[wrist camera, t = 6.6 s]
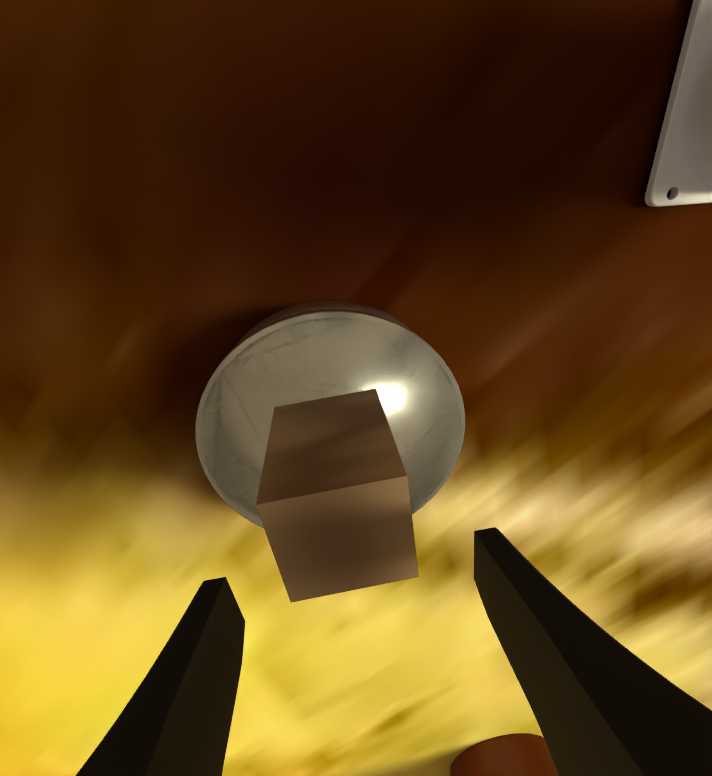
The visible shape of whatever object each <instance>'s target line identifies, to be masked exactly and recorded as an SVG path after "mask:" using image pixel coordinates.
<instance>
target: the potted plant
mask: <svg viewBox="0 0 712 776" xmlns="http://www.w3.org/2000/svg"><path fill="white" fill-rule="evenodd" d="M450 775H451V776H559V775H558V772H557V770H556V767H555V765H554V762H553V760H552V757H551V754H550V752H549V749H548V747H547V744H546V742H545V739H544V738H543V737H541V736H537V735H533V734H511V735H505V736H500V737H496V738H493V739H489V740H486V741H483V742H481V743H479V744H477V745H475V746H473V747H471V748H469V749H467V750H466V751H464V752H463V753H462V754H460V755H459V756H458V757H457V758H456V759H455V760H454V762H453V763H452V765H451V768H450Z"/></svg>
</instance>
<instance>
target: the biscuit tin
mask: <svg viewBox="0 0 712 776" xmlns="http://www.w3.org/2000/svg"><path fill="white" fill-rule="evenodd" d="M370 389H376V390H377V393H378V396H379V398H380V401H381V404H382V407H383V410H384V412H385V415H386V418H387V421H388V423H389V426H390V429H391V432H392V435H393V437H394V440H395V443H396V446H397V449H398V451H399V454H400V457H401V460H402V463H403V465H404V468H405V471H406V474H407V478H408V487H409V496H410V505H411V513H412V514H414V513H415V512H416V511H417V510H419V509H420V508H421V507H423V506H424V505H425V504H426V503H427V502H428V501H429V500H430V499H431V498H432V497H433V496H434V495H435V494H436V493H437V492H438V491H439V489H440V488H441V487H442V486H443V485H444V483H445V482H446V480H447V479H448V477H449V475H450V474H451V472H452V471H453V469H454V466H455V464H456V462H457V460H458V458H459V454H460V451H461V448H462V445H463V439H464V432H465V412H464V405H463V399H462V396H461V393H460V390H459V387H458V384H457V382H456V380H455V378H454V376H453V374H452V372H451V371H450V369H449V368H448V366H447V365H446V364H445V362H444V361H443V359H442V358H441V357H440V356H439V354H438V353H437V352H436V351H435V350H434V349H433V348H432V347H431V346H430V345H429V344H428V343H427V342H426V341H424V340H423V339H422V338H421V337H419V336H418V335H417V334H415V333H414V332H413V331H412V330H411V329H410V328H409V327H407V326H406V325H405V324H403V323H402V322H401V321H400V320H398V319H397V318H395V317H393V316H392V315H390V314H388V313H386V312H385V311H382V310H380V309H377V308H375V307H372V306H370V305H366V304H362V303H358V302H354V301H345V300H317V301H310V302H304V303H301V304H297V305H294V306H290V307H287V308H285V309H283V310H281V311H278V312H276V313H274V314H272V315H270V316H269V317H267V318H265V319H264V320H262V321H261V322H259V323H258V324H257V325H255V326H254V327H253V328H252V329H251V330H249V331H248V332H247V333H246V334H245V335H244V336H243V338H242V339H241V340H240V341H239V342H238V343H237V344H236V346H235V347H234V348H233V349H232V350H231V352H230V353H229V354H228V355H227V356H226V357H225V358H224V359H223V360H222V361H221V363H220V364H219V366H218V367H217V369H216V370H215V372H214V373H213V375H212V376H211V378H210V380H209V382H208V384H207V386H206V388H205V390H204V392H203V395H202V397H201V400H200V404H199V407H198V411H197V418H196V427H195V432H196V446H197V450H198V455H199V459H200V462H201V464H202V467H203V470H204V472H205V474H206V476H207V478H208V480H209V481H210V483H211V485H212V486H213V488H214V489H215V490H216V492H217V493H218V494H219V495H220V497H221V498H222V499H223V500H224V501H225V502H226V503H227V504H228V505H229V506H230V507H231V508H232V509H234V510H235V511H236V512H238V513H239V514H240V515H242V516H243V517H244V518H246V519H248V520H249V521H251V522H253V523H254V524H256V525H258V526H260V527H263V528H264V526H263V524H262V521H261V518H260V515H259V512H258V510H257V507H256V501H257V496H258V491H259V485H260V480H261V475H262V470H263V464H264V459H265V454H266V448H267V443H268V438H269V433H270V427H271V422H272V417H273V411H274V407H278V406H283V405H289V404H294V403H300V402H305V401H311V400H316V399H321V398H327V397H332V396H338V395H343V394H349V393H354V392H359V391H365V390H370Z"/></svg>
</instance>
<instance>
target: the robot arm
mask: <svg viewBox="0 0 712 776" xmlns="http://www.w3.org/2000/svg"><path fill="white" fill-rule="evenodd" d="M669 189H671V193H670V196H669V197H668V198H667V193H668V191H669ZM645 202H646V204H647V205H648V206H652V207H659V206H673V205H686V204H700V203H712V0H693V4H692V8H691V12H690V16H689V20H688V24H687V28H686V32H685V36H684V40H683V44H682V48H681V52H680V56H679V60H678V65H677V69H676V73H675V77H674V81H673V85H672V89H671V93H670V97H669V101H668V105H667V109H666V113H665V117H664V121H663V125H662V129H661V133H660V137H659V141H658V145H657V149H656V153H655V158H654V162H653V166H652V170H651V174H650V178H649V182H648V186H647V190H646V194H645ZM474 580H475V582H476V585H477V588H478V591H479V594H480V597H481V599H482V602H483V605H484V608H485V610H486V613H487V616H488V618H489V620H490V622H491V624H492V626H493V629H494V631H495V633H496V635H497V637H498V639H499V641H500V643H501V645H502V648H503V650H504V652H505V654H506V656H507V658H508V660H509V662H510V664H511V666H512V668H513V670H514V673H515V675H516V677H517V679H518V681H519V683H520V685H521V687H522V689H523V691H524V693H525V696H526V698H527V700H528V702H529V704H530V706H531V708H532V711H533V713H534V715H535V717H536V720H537V722H538V724H539V726H540V729H541V731H542V734H543V737H544V739H545V742H546V744H547V747H548V749H549V752H550V754H551V757H552V760H553V762H554V765H555V767H556V770H557V772H558V775H559V776H712V710H710V709H709V708H707V707H706V706H704V705H703V704H701V703H700V702H699V701H697V700H696V699H694V698H693V697H691V696H690V695H688V694H687V693H685V692H684V691H683V690H681V689H680V688H678V687H677V686H675V685H674V684H673V683H671V682H670V681H669V680H667V679H666V678H665V677H663V676H662V675H661V674H659V673H658V672H657V671H655V670H654V669H653V668H651V667H650V666H649V665H647V664H646V663H645V662H643V661H642V660H641V659H639V658H638V657H637V656H636V655H634V654H633V653H632V652H630V651H629V650H628V649H627V648H625V647H624V646H623V645H622V644H620V643H619V642H618V641H617V640H615V639H614V638H613V637H612V636H610V635H609V634H608V633H607V632H606V631H604V630H603V629H602V628H601V627H600V626H598V625H597V624H596V623H595V622H594V621H593V620H591V619H590V618H589V617H588V616H587V615H586V614H585V613H583V612H582V611H581V610H580V609H579V608H578V607H577V606H575V605H574V604H573V603H572V602H571V601H570V600H569V599H568V598H567V597H565V596H564V595H563V594H562V593H561V592H560V591H559V590H558V589H557V588H556V587H555V586H554V585H553V584H552V583H551V582H549V581H548V580H547V579H546V578H545V577H544V576H543V575H542V574H541V573H540V572H539V571H538V570H537V569H536V568H535V567H534V566H533V565H532V564H531V563H530V562H529V561H528V560H527V559H526V558H525V557H524V556H523V555H522V554H521V553H520V552H519V551H518V550H517V549H516V548H515V547H514V546H513V545H512V544H511V543H510V542H509V540H508V539H507V538H506V537H505V536H504V535H503V534H502V533H501V532H500V531H499V530H498V529H497V528H495V527H494V528H488V529H483V530H478V531H474ZM244 630H245V620H244V618H243V615H242V613H241V611H240V609H239V606H238V604H237V602H236V599H235V597H234V595H233V593H232V590H231V588H230V586H229V583H228V581H227V579H226V577H223V578H217V579H212V580H207V581H204V582H203V583H202V584H201V586H200V588H199V589H198V591H197V593H196V595H195V596H194V598H193V600H192V601H191V603H190V605H189V607H188V608H187V610H186V612H185V613H184V615H183V617H182V619H181V620H180V622H179V624H178V625H177V627H176V629H175V630H174V632H173V634H172V635H171V637H170V639H169V640H168V642H167V643H166V645H165V647H164V648H163V650H162V651H161V653H160V655H159V656H158V658H157V659H156V661H155V663H154V664H153V666H152V667H151V669H150V671H149V672H148V674H147V675H146V677H145V678H144V680H143V681H142V683H141V684H140V686H139V687H138V689H137V690H136V692H135V693H134V695H133V696H132V698H131V699H130V701H129V702H128V704H127V705H126V707H125V708H124V710H123V711H122V713H121V714H120V716H119V717H118V719H117V720H116V721H115V723H114V724H113V726H112V727H111V728H110V730H109V731H108V733H107V734H106V735H105V737H104V738H103V740H102V741H101V742H100V744H99V745H98V746H97V748H96V749H95V751H94V752H93V753H92V755H91V756H90V757H89V759H88V760H87V761H86V763H85V764H84V765H83V767H82V768H81V769H80V771H79V772H78V773H77V775H76V776H222V770H223V764H224V759H225V753H226V748H227V743H228V737H229V732H230V726H231V721H232V715H233V710H234V705H235V699H236V694H237V688H238V682H239V677H240V671H241V665H242V656H243V645H244Z"/></svg>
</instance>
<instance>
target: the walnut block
mask: <svg viewBox="0 0 712 776" xmlns="http://www.w3.org/2000/svg"><path fill="white" fill-rule="evenodd" d="M256 507H257V510H258V512H259V515H260V518H261V521H262V524H263V526H264V529H265V532H266V535H267V537H268V540H269V543H270V546H271V549H272V551H273V554H274V557H275V560H276V562H277V565H278V568H279V571H280V574H281V576H282V579H283V582H284V585H285V587H286V590H287V593H288V596H289V599H290V601H291V602H296V601H301V600H306V599H311V598H316V597H321V596H326V595H331V594H335V593H340V592H345V591H350V590H355V589H360V588H365V587H370V586H375V585H380V584H385V583H390V582H395V581H400V580H405V579H410V578H415V577H419V574H418V566H417V557H416V548H415V539H414V531H413V522H412V513H411V505H410V496H409V487H408V478H407V474H406V471H405V468H404V465H403V463H402V460H401V457H400V454H399V451H398V449H397V446H396V443H395V440H394V437H393V435H392V432H391V429H390V426H389V423H388V421H387V418H386V415H385V412H384V410H383V407H382V404H381V401H380V398H379V396H378V393H377V390H376V389H370V390H365V391H359V392H354V393H349V394H343V395H338V396H332V397H327V398H321V399H316V400H311V401H305V402H300V403H294V404H289V405H283V406H278V407H274V411H273V417H272V422H271V427H270V433H269V438H268V443H267V448H266V454H265V459H264V464H263V470H262V475H261V480H260V485H259V491H258V496H257V501H256Z"/></svg>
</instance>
